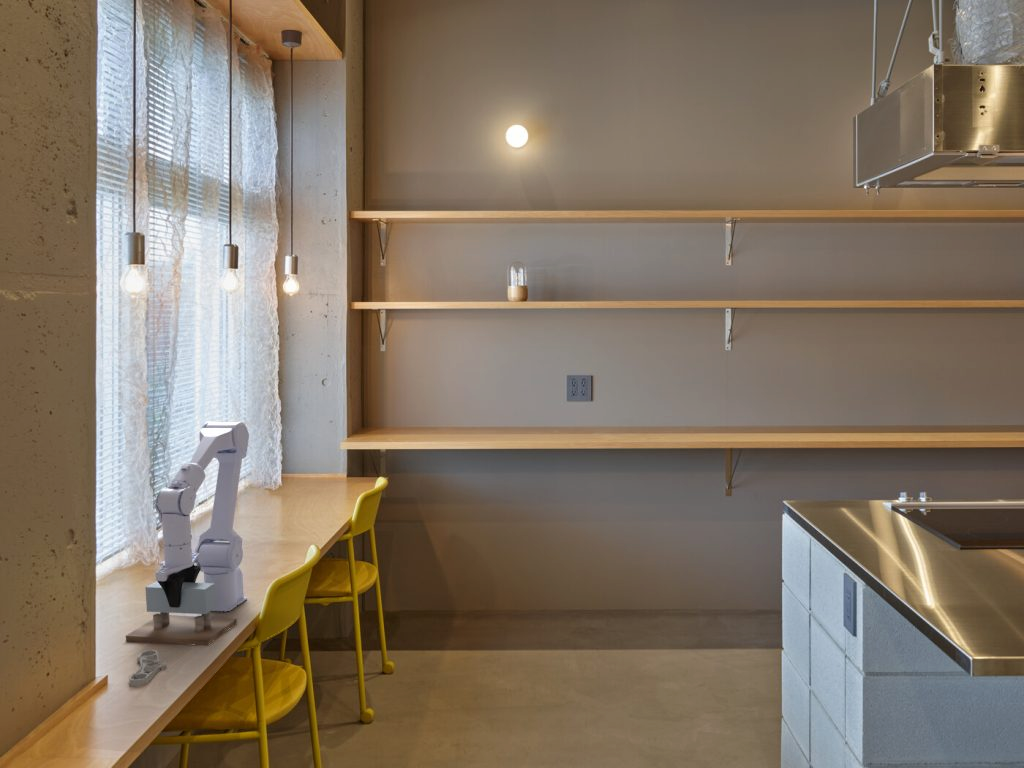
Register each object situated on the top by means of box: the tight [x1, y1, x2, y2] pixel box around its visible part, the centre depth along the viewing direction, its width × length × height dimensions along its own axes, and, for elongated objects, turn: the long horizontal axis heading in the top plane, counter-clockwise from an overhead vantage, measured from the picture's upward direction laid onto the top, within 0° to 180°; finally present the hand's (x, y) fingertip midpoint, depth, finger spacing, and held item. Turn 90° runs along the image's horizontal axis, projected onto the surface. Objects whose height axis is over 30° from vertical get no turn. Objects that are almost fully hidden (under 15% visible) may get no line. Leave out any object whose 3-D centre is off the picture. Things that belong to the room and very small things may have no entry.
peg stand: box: [125, 611, 238, 646], centre depth 201 cm, size 13×19×4 cm
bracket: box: [128, 649, 167, 688], centre depth 181 cm, size 8×2×15 cm
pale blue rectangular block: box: [145, 580, 216, 615], centre depth 200 cm, size 14×4×6 cm, turn 80°
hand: (181, 603), depth 200 cm, fingers closed on pale blue rectangular block, 4 cm apart
